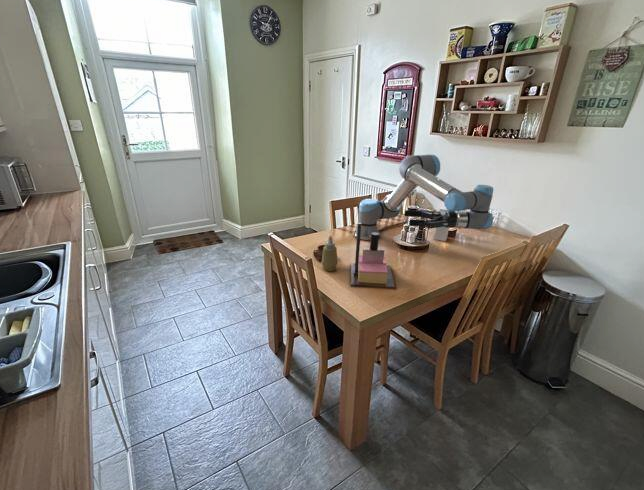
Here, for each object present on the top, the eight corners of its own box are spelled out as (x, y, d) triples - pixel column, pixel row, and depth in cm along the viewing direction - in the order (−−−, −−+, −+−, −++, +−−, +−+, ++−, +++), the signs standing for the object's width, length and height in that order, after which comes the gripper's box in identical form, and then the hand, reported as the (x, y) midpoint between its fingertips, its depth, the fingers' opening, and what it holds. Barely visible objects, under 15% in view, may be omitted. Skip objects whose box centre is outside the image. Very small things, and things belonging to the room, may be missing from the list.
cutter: (362, 260, 159) (364, 231, 153) (382, 261, 158) (385, 232, 152) (362, 263, 156) (364, 234, 150) (383, 264, 155) (386, 235, 149)
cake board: (350, 265, 171) (353, 215, 160) (389, 267, 169) (395, 217, 158) (350, 286, 151) (354, 231, 140) (394, 288, 149) (401, 233, 138)
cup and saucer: (321, 264, 171) (322, 253, 168) (308, 256, 180) (308, 246, 177) (339, 259, 177) (340, 248, 175) (326, 251, 186) (326, 241, 184)
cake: (357, 265, 168) (358, 255, 166) (383, 267, 167) (384, 256, 165) (358, 282, 152) (359, 270, 150) (386, 283, 151) (388, 272, 149)
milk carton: (445, 241, 203) (451, 212, 195) (434, 239, 206) (438, 210, 198) (447, 237, 209) (452, 209, 201) (435, 235, 212) (440, 207, 204)
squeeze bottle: (330, 264, 172) (331, 231, 164) (340, 269, 166) (342, 236, 158) (318, 268, 167) (318, 235, 160) (327, 274, 161) (328, 240, 154)
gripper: (461, 237, 137) (410, 235, 139) (446, 218, 160) (402, 217, 162) (465, 220, 134) (412, 218, 136) (448, 204, 157) (403, 202, 158)
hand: (406, 217), depth 149 cm, fingers open, 13 cm apart
